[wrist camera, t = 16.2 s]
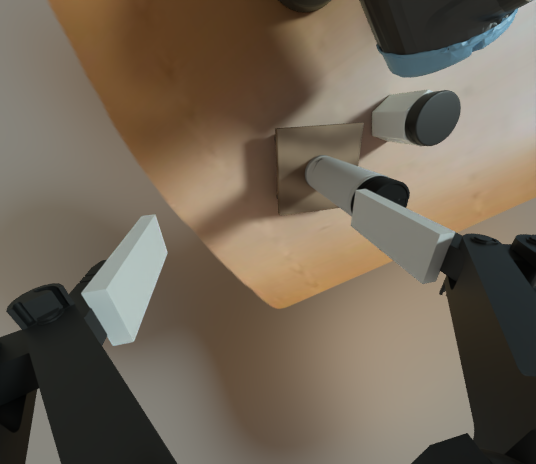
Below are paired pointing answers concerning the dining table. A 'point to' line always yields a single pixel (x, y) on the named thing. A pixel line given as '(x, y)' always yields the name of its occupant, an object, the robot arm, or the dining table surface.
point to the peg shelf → (301, 153)
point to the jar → (416, 117)
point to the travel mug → (351, 182)
